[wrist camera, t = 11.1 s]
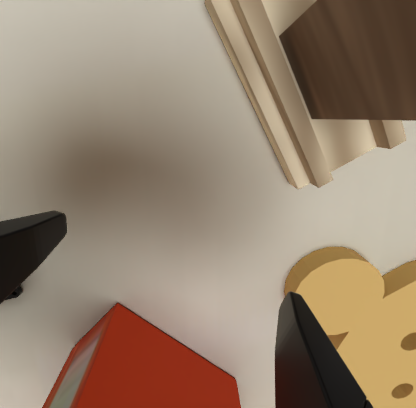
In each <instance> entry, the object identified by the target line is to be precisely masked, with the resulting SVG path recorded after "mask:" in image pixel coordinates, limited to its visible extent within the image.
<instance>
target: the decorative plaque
mask: <svg viewBox="0 0 416 408" xmlns="http://www.w3.org/2000/svg"><path fill="white" fill-rule="evenodd" d="M289 291H292V292H295V293H298V294H300V295H301V296H302V297H303V299H304V300H305V302H306V303H307V305H308V306H309V308H310V309H311V311H312V313H313V314H314V316H315V317H316V319H317V320H318V322H319V323H320V325H321V327H322V328H323V330H324V331H325V333H326V334H327V336H328V337H329V339H330V341H331V342H332V344H333V345H334V347H335V348H336V350H337V351H338V353H339V355H340V356H341V358H342V359H343V361H344V362H345V364H346V365H347V367H348V369H349V370H350V372H351V373H352V375H353V376H354V378H355V380H356V381H357V383H358V384H359V386H360V387H361V389H362V390H363V392H364V394H365V395H366V397H367V400H369V401H370V403H371V404H372V406H373V407H374V408H416V260H415V261H411V262H408V263H405V264H403V265H401V266H400V267H398V268H396V269H394V270H392V271H390V272H389V273H387V274H385V275H383V276H381V274H380V272H379V270H377V269H376V268H375V267H374V266H373V265H371V264H370V263H369V262H368V261H366V260H365V259H364V258H363V257H362V256H360V255H359V254H358V253H357V252H355V251H354V250H350V249H347V248H344V247H326V248H323V249H319V250H316V251H313V252H312V253H310V254H308V255H307V256H305V257H303V258H302V259H301V260H300V261H299V262H298V263H297V264H296V265H295V266H294V267H293V268H292V269H291V271H290V273H289V275H288V277H287V279H286V282H285V288H284V293H285V297H286V295H287V293H288V292H289Z"/></svg>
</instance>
